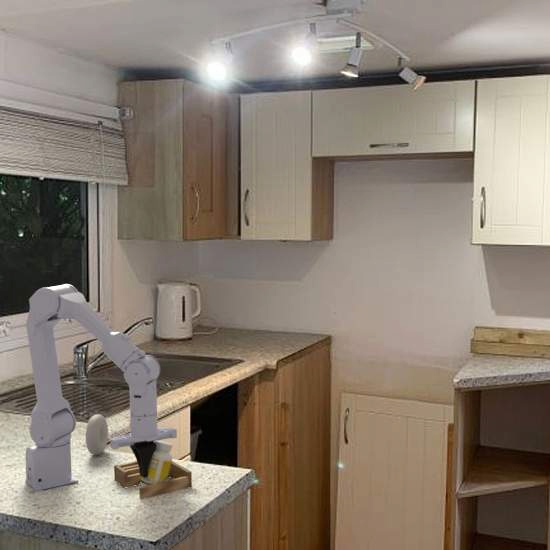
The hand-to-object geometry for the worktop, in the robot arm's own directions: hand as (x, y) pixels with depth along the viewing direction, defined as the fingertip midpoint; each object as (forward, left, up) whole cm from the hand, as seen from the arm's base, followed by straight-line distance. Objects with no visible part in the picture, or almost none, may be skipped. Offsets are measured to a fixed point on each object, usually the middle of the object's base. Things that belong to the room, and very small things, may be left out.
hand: (145, 475), depth 161 cm
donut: (+1, +30, -4) cm, 31 cm away
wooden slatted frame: (+3, +3, -3) cm, 6 cm away
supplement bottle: (+2, 0, -3) cm, 3 cm away
